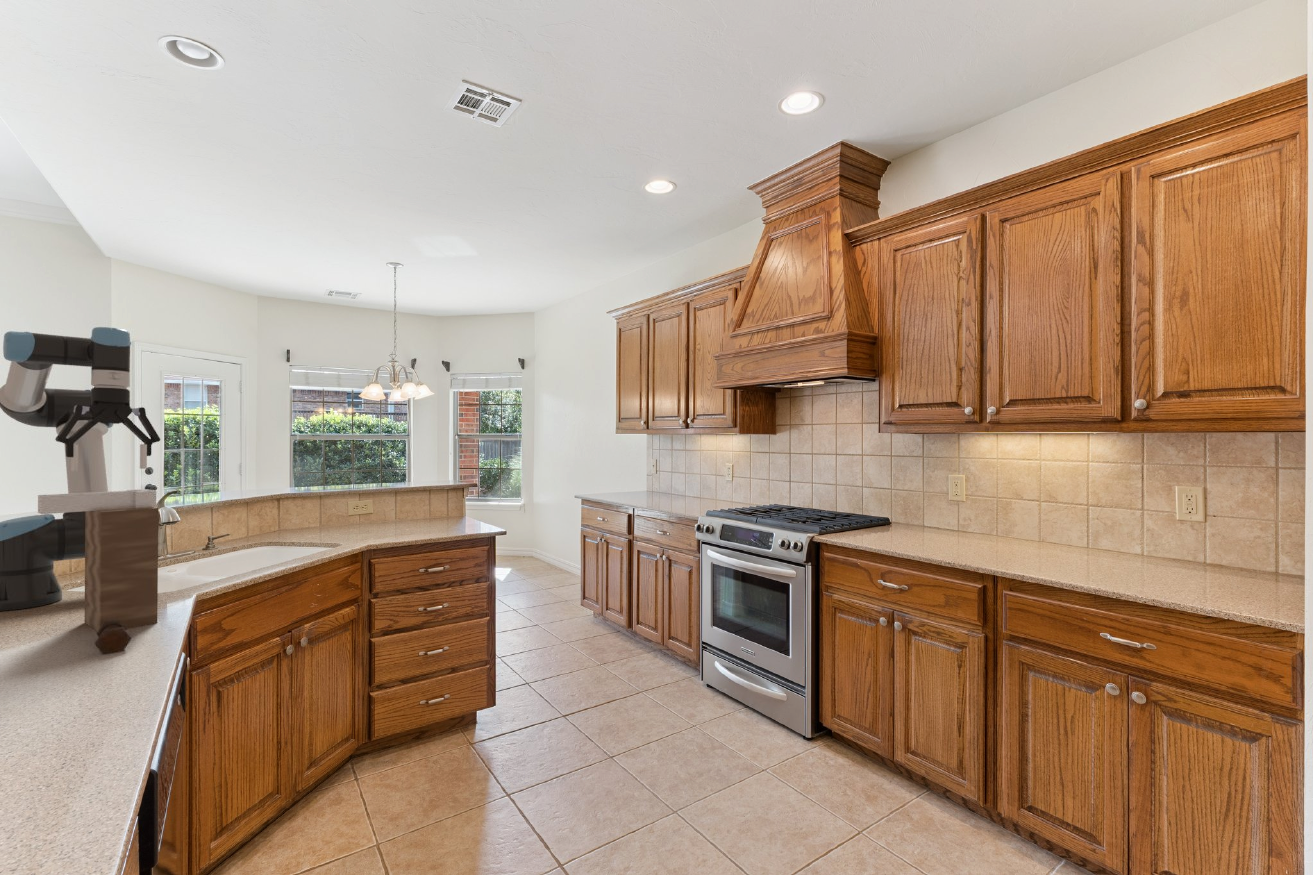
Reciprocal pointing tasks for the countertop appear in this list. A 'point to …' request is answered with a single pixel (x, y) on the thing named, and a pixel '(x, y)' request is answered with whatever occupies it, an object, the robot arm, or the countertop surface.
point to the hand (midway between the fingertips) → (110, 469)
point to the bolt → (112, 637)
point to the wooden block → (121, 566)
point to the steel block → (96, 501)
